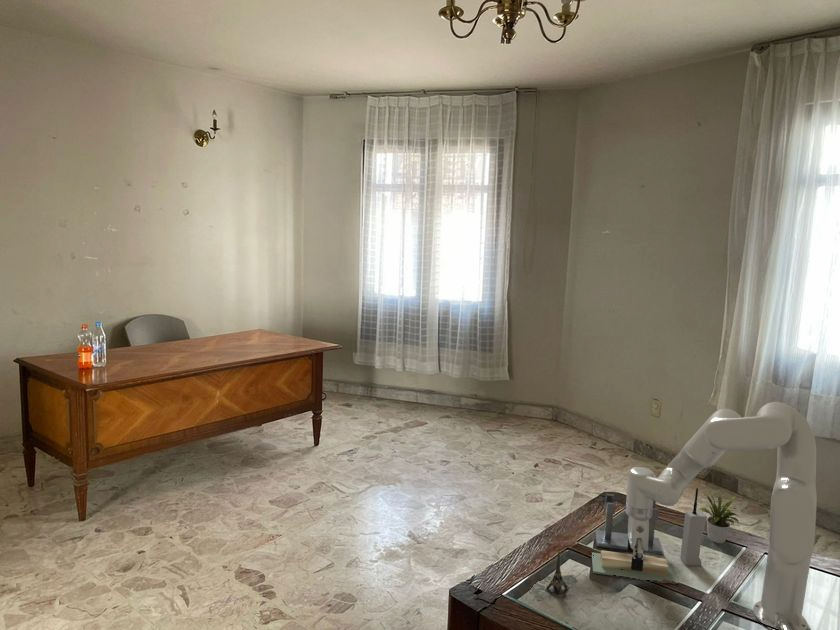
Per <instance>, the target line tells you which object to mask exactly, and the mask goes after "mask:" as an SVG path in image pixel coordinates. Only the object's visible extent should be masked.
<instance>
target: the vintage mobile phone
mask: <svg viewBox="0 0 840 630" xmlns="http://www.w3.org/2000/svg"><path fill="white" fill-rule="evenodd" d="M698 494H699V488H695V494H694V496H695V497H694V502H693V509H692V510H690V509H689V510H688V509H687V510H685V512H684V522H683V530H682V531H683V532H682V540H681V548H680V549H681V550H680V560H681V561H682V563H683V564H684V565H685V566H692V567H693V566H694V567H695V566H696V567H700V566H702V561H701V558H700V553H701V543H702V537H703V534H704V532H705V527H706V525H707V518H708V516H707V515H706V514H705V512H702V510H697V507H698V496H699V495H698Z"/></svg>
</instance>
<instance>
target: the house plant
mask: <svg viewBox="0 0 840 630" xmlns="http://www.w3.org/2000/svg"><path fill="white" fill-rule="evenodd" d="M693 494H694V495H695V494H696V492H695V493H693ZM704 495H705V498H707V499H705V500H706V502H708V501H709V502H708V503H709V504H708V505H706V506H705V507H701V508H700V509H699V511H702V512H703V513H707V514H709V516H707V520H706V529H707V538H708V540H709V541H710V542H713V543H715V544H725V542H726V540H727V537H728V533H729V530H730V527H731V524H733V525H735V521H736V523H738V524H739V523H740V521H739V520H738V519H737V517H739V518H740V519H742V517H741V516H739V514H737V513H735V512H733V510H734V509H735V508H737V507H740V505H735V506H732V507H730V506H731V505H732V504H733V502H734V500H735V499H736V498H737V495H735V496H732V497H731V498H729V499H727V501H725V502H724V503H723V504H722V501H723V497H724V492H723V493H722V494H720V493H718V498H717V503H718V505H717V503H716V502H715V499H714V497H713V495H712V494H710V493H708V492H707V493H704ZM709 495H710V496H709ZM698 496H701V497H703V498H704V496H703V495H701V494H699V493H698ZM711 498H712V499H711ZM707 500H708V501H707ZM707 506H708V507H709V509H710V510H709V509H707V508H706V507H707ZM729 507H730V508H729ZM710 511H711V512H710ZM733 516H737V517H733Z"/></svg>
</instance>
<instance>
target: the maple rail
mask: <svg viewBox="0 0 840 630" xmlns="http://www.w3.org/2000/svg"><path fill="white" fill-rule="evenodd" d="M600 554H601V558H600V560H601V567H608V568H615V569H623V570H630V571H635V570H631V562H632V557H633V553H632V554H631V553H624V552H623V553H622V552H617V551H608V550H600ZM643 559H644V560H643V571H637V572H644V573H651V574H658V575H665V576H667V575H668V564H667V563H668V561H667V558H660V557H653V556H646V555H643Z"/></svg>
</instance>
